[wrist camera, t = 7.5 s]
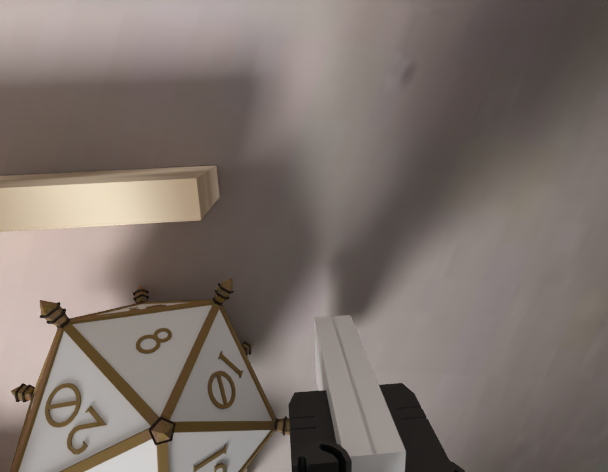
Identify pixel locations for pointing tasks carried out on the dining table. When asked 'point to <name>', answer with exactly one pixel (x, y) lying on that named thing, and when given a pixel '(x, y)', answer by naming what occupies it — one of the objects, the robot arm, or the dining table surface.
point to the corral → (107, 198)
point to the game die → (145, 392)
